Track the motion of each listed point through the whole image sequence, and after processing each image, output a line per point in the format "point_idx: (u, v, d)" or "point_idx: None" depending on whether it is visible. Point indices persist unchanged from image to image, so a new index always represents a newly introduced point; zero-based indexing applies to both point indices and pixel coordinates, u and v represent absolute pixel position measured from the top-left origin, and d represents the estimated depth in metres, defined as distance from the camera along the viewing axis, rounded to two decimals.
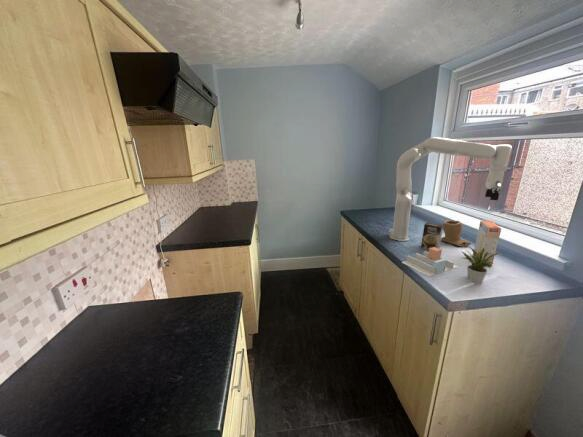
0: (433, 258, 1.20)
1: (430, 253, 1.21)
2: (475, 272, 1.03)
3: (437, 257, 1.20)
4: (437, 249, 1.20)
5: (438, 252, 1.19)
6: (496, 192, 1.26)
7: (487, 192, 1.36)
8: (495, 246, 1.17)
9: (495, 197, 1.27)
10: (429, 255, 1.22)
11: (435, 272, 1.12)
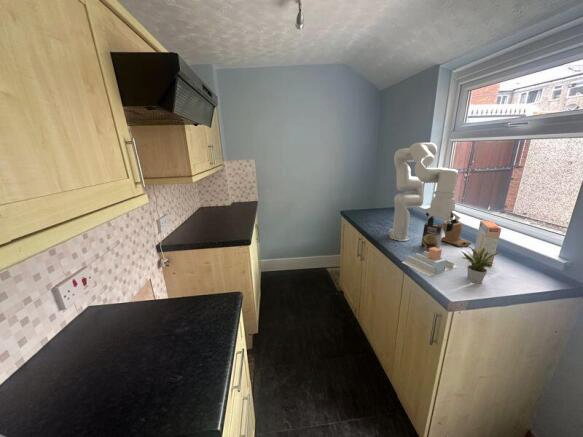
0: (433, 258, 1.20)
1: (430, 253, 1.21)
2: (475, 272, 1.03)
3: (437, 257, 1.20)
4: (437, 249, 1.20)
5: (438, 252, 1.19)
6: None
7: (430, 221, 1.20)
8: (495, 246, 1.17)
9: (451, 228, 1.12)
10: (429, 255, 1.22)
11: (435, 272, 1.12)
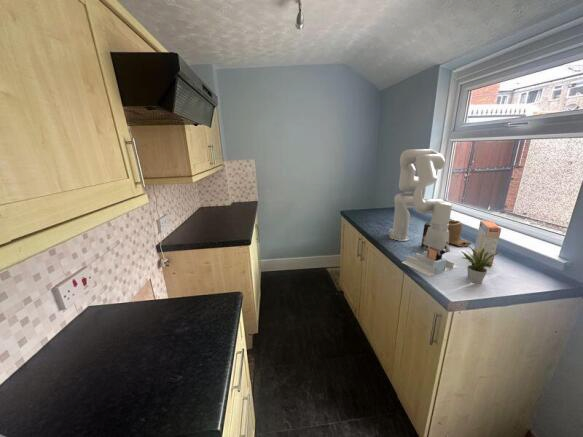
0: (433, 258, 1.20)
1: (430, 253, 1.21)
2: (475, 272, 1.03)
3: None
4: (437, 249, 1.20)
5: None
6: None
7: None
8: (495, 246, 1.17)
9: (440, 258, 1.19)
10: (429, 255, 1.22)
11: (435, 272, 1.12)
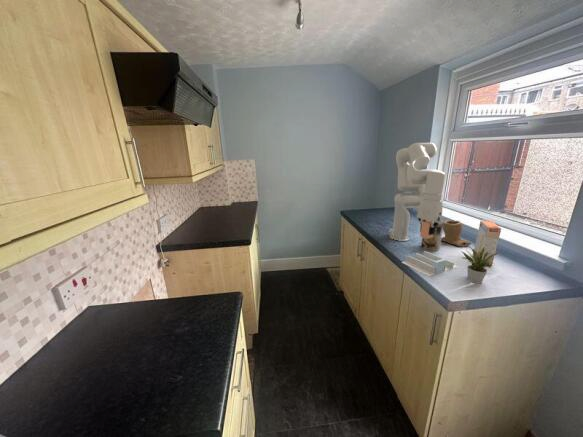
0: (426, 231, 1.14)
1: (423, 226, 1.16)
2: (475, 272, 1.03)
3: None
4: (430, 222, 1.14)
5: None
6: (435, 226, 1.12)
7: None
8: (495, 246, 1.17)
9: (433, 231, 1.13)
10: (422, 228, 1.16)
11: (435, 272, 1.12)
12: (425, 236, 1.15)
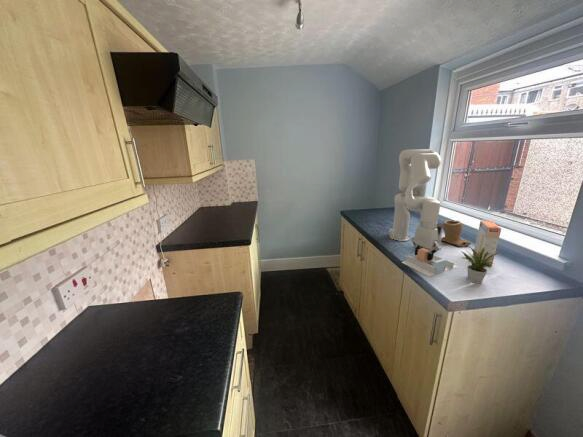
0: (422, 259, 1.19)
1: (419, 254, 1.20)
2: (475, 272, 1.03)
3: (426, 259, 1.18)
4: (426, 250, 1.19)
5: (427, 254, 1.18)
6: (433, 253, 1.15)
7: (417, 250, 1.22)
8: (495, 246, 1.17)
9: (432, 257, 1.16)
10: (418, 256, 1.20)
11: (435, 272, 1.12)
12: None
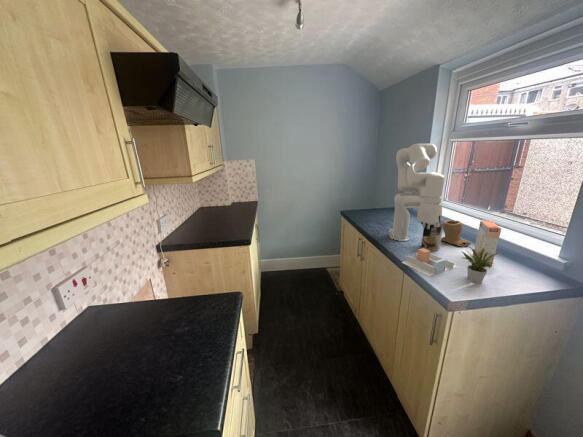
0: (422, 259, 1.19)
1: (419, 254, 1.20)
2: (475, 272, 1.03)
3: (426, 259, 1.18)
4: (426, 250, 1.19)
5: (427, 254, 1.18)
6: (431, 228, 1.14)
7: None
8: (495, 246, 1.17)
9: (429, 233, 1.15)
10: (418, 256, 1.20)
11: (435, 272, 1.12)
12: None
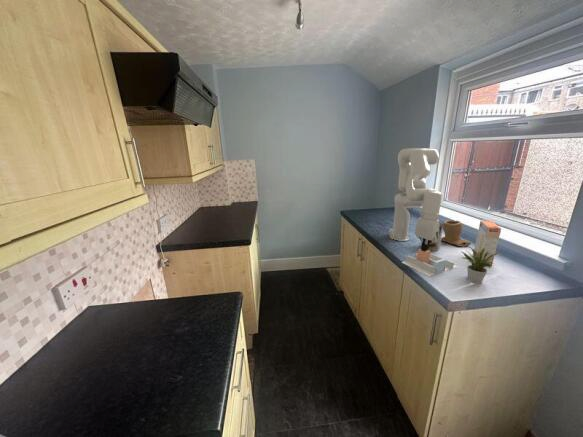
0: (422, 259, 1.19)
1: (419, 254, 1.20)
2: (475, 272, 1.03)
3: (426, 259, 1.18)
4: None
5: (427, 254, 1.18)
6: (429, 243, 1.16)
7: None
8: (495, 246, 1.17)
9: (427, 248, 1.17)
10: (418, 256, 1.20)
11: (435, 272, 1.12)
12: None
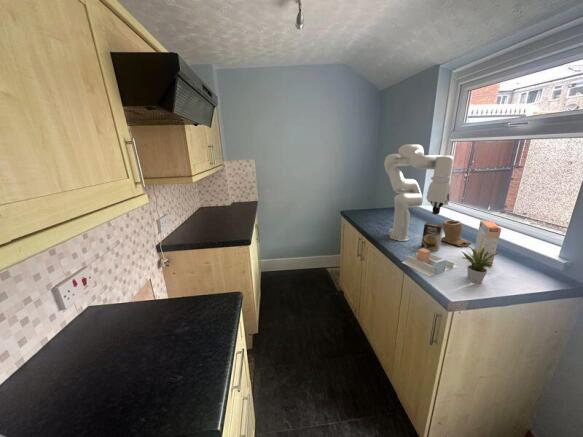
0: (422, 259, 1.19)
1: (419, 254, 1.20)
2: (475, 272, 1.03)
3: (426, 259, 1.18)
4: (426, 250, 1.19)
5: (427, 254, 1.18)
6: (440, 206, 1.23)
7: None
8: (495, 246, 1.17)
9: (438, 211, 1.24)
10: (418, 256, 1.20)
11: (435, 272, 1.12)
12: None
